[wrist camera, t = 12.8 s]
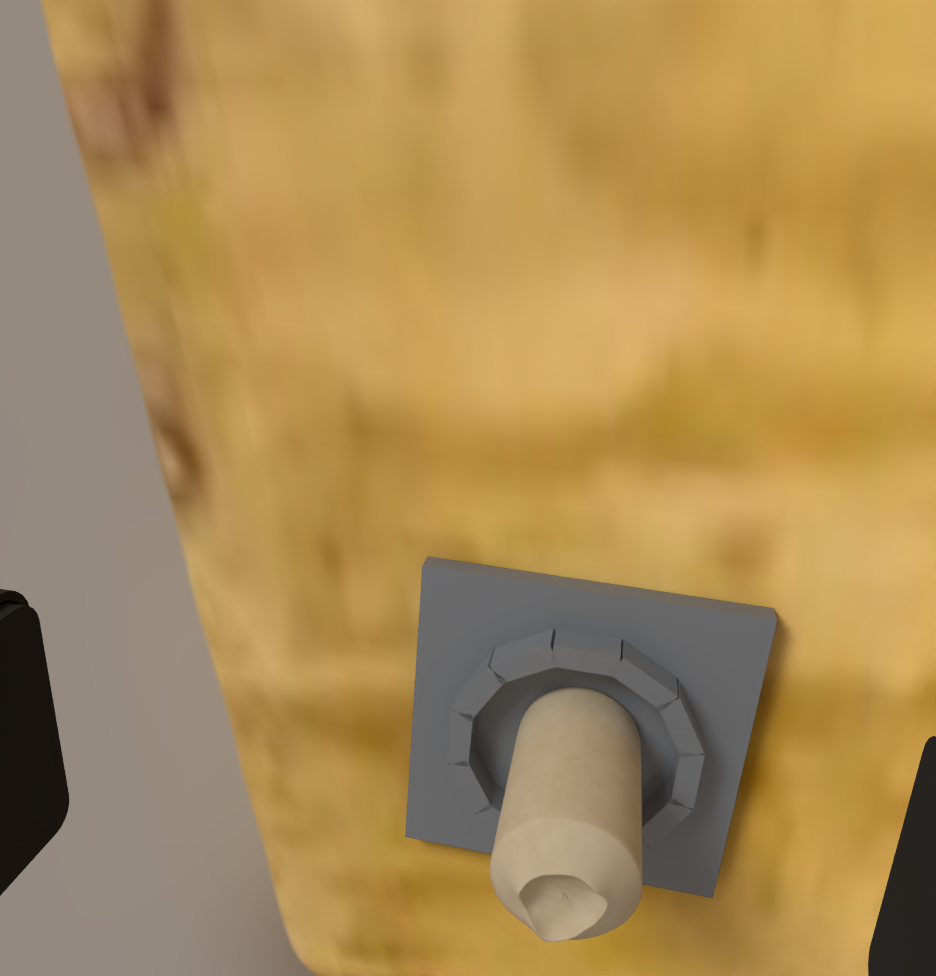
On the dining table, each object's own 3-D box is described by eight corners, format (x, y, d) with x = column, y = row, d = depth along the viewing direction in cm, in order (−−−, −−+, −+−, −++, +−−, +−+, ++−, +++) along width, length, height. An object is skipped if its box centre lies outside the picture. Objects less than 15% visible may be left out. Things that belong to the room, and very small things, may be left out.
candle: (605, 806, 40) (596, 996, 31) (499, 753, 40) (458, 926, 31) (663, 720, 38) (672, 896, 29) (551, 664, 38) (524, 821, 29)
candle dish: (773, 608, 36) (783, 638, 34) (711, 882, 42) (715, 923, 39) (427, 556, 38) (414, 581, 36) (410, 822, 44) (397, 858, 42)
